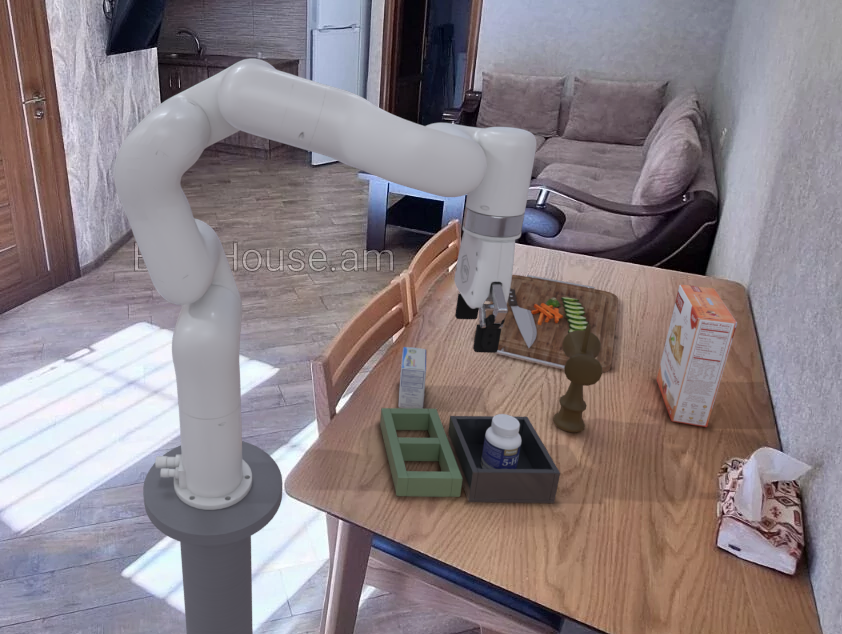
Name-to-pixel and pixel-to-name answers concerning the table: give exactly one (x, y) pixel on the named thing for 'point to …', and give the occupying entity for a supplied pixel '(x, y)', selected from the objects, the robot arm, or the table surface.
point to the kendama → (578, 377)
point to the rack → (419, 453)
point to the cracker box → (695, 354)
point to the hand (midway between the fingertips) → (474, 334)
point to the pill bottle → (501, 443)
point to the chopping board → (555, 319)
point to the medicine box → (412, 378)
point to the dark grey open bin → (502, 485)
